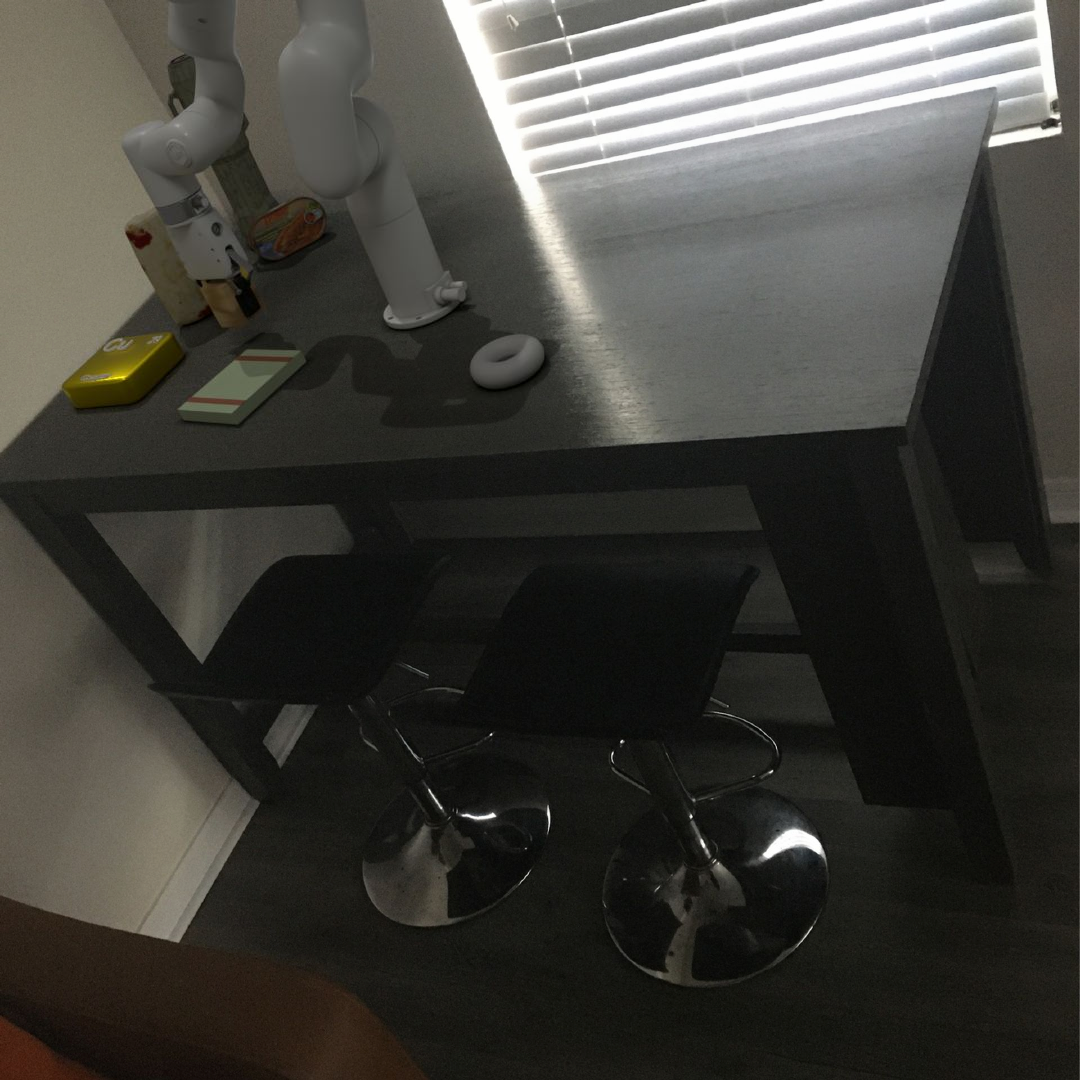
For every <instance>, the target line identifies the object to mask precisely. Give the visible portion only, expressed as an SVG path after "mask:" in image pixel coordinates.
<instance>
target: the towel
mask: <svg viewBox="0 0 1080 1080" xmlns="http://www.w3.org/2000/svg"><path fill="white" fill-rule="evenodd" d="M306 363H307V360H306V357H305V355H304V354H303V352H302V350H299V349H298V350H296V349H293V350H291V349H254V348H253V349H247V348H246V350H244V351H243V352H242V353H241V354H240V355H238V356H237V357H236V358H234V359H233V361H232V362H231V363H229V364H228V365H226V367H224V368H223V369H222V370H221V371H220V372H219V373H218V374H216V375H215V376H214V377H213V378H212V379H210V380H209V381H208V382H207V383H206V384H205V385H204V386H203V387H201V388H200V389H199V390H198V391H197V392H195V393H194V394H193V395H192V396H190V397H189V398H187V400H186V401H185V402H184V403H183V404H181V405H180V407H178V408H177V409H176V410H177V412H178V413H179V415H180V417H181V419H182V420H183V421H186V422H199V423H200V422H201V423H213V424H214V423H215V424H226V425H235V426H236V425H237V426H238V425H239V424H241V423H242V422H243V421H244V420H245V419H246V418H247V417H248V416H250V415H251V414H252V412H254V411H255V410H256V409H257V408H258V407H259V406H260V405H261V404H262V403H264V402H265V401H266V400H267V399H268V398H269V397H270V396H271V395H273V393H275V392H276V391H277V389H279V388H280V387H281V386H282V385H283V384H284V383H285V382H287V380H288V379H290V377H292V376H293V375H294V374H295V373H296V372H297V371H298V370H299V369H301V368H302V366H304V365H305V364H306Z"/></svg>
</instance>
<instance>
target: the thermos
mask: <svg viewBox="0 0 1080 1080" xmlns="http://www.w3.org/2000/svg"><path fill="white" fill-rule="evenodd" d="M166 67H167V68H166V69H167V73H168V78H169V83H170V85H171V87H172V89H173V90H172V91H171V93H168V96H167V106H168V108H169V110H170V112H171V114H172V116H173V119H174V118H175V117H177V116H178V115H179V114H180V113H179V112H178V109H177V108H176V106H175V105H174V99H176V100H178V101H179V103H180V106H181V107H182V109H183V110H185V109H186V108H187V107H189V106H190V105H191V104H193V103H194V98H195V85H196V66H195V61H194V57H191V56H189V55H186V54H184V53H183V54H181V55H179V56H177V57H175V58H173V59H171V60H170V61H169V64H167V66H166ZM249 125H250V122H249V119H248V117H247V116H246V114H245V112H244V113H243V121H242V127H241V130H240V133H239V136H238V138H237V140H236V141H235V142H234V144H233V145H232V146H231V147H229V148H228V149H227V150H226V151H225V152H224V153H223V154H222V155H220V156H219V158H218V159H217V160H216V161H215V162H214V163H212V164H211V165H210V167H211V169H212V170H213V173H214V175H215V177H216V178H217V181H218V183H219V184H220V187H221V189H222V191H223V193H224V194H225V197H226V199H227V201H228V202H229V205H230V207H231V209H232V214H233V217H234V220H235V223H236V225H237V227H238V229H239V231H240V233H241V234H242V237H244V238H245V240H246V242H247V245H248V247H249V248H250V249H253V247H252V246H251V244H250V241H249V228H250V225H251V223H252V222H253V220H254V219H255V218H256V217H258V216H259V215H261V214H263V213H265V212H267V211H269V210H271V209H273V208H275V207H277V206H279V205H280V203H279V201H278V200H277V199H276V198H275V197H274V196H273V194H272V193H271V191H270V189H269V186H268V185H267V182H266V180H265V178H264V176H263V173H262V172H261V169H260V168H259V165H258V164H257V161H256V159H255V157H254V155H253V153H252V151H251V149H250V141H249V138H248V137H247V134H246V131H247V130H248V127H249Z"/></svg>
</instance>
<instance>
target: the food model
mask: <svg viewBox="0 0 1080 1080" xmlns="http://www.w3.org/2000/svg"><path fill="white" fill-rule="evenodd" d="M124 234H125V236H126V238H127V240H128V242H129V244H130V246H131V248H132V251H133V252H134V255H135V258H136V259H137V261H138V263H139V265H140V267H141V268H142V271H143V272H144V274H145V276H146V277H147V279H148V281H149V282H150V283H151V286H152V287H153V289H154V291H155V293H156V295H157V296H158V298H159V300H160V301H161V303H162V304H163V306H164V308H165V309H166V310H167V312H168V313H169V315H170V317H171V319H172V321H173V322H174V324H176V325H177V326H182V325H184V326H185V325H189V324H192V323H194V322H196V321H199V320H201V319H203V318H204V317H207V316H208V315H210V314H212V313H213V311H212V310H211V308H210V306H209V304H208V302H207V301H206V299H205V297H204V295H203V293H202V292H201V290H200V288H201V287H200V286H199V285H198V284H197V283H196V282H195V281H193V280H192V279H190V278H189V277H187V275H186V269H185V267H184V265H183V263H182V262H181V260H180V258H179V256H178V254H177V252H176V250H175V248H174V246H173V243H172V241H171V239H170V236H169V234H168V231H167V229H166V226H165V224H164V222H163V221H162V219H161V217H160V215H159V213H158V212H157V210H156V208H155V206H154V207H152V208H150V209H148V210H146V211H145V212H143V213H141V214H137V215H134V216H133V217H132V218H131V219H130V220H128V221H127V222H126V224H125V225H124Z"/></svg>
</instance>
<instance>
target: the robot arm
mask: <svg viewBox="0 0 1080 1080" xmlns="http://www.w3.org/2000/svg"><path fill="white" fill-rule="evenodd" d="M166 1H168V13H167V15H168V16H167V37H168V40H169V42H170V43H171V44H172V46H173V47H174V48H175V49H177V50H178V51H180V52H181V53H183V55H184V54H186V55H189V56H191V57H194V61H195V66H196V85H195V98H194V103H193V104H191V105H190V106H189V107H187V108H186V109H183V111H181V112H180V113H178V114H179V115H178V116H177V117H175V118H174V117H173V119H171V120H170V121H169V122H166V121H164V120H161V119H155V120H150V121H147V122H144V123H142V124H139V125H138V126H135V127H133V128H132V129H130V130H129V131H127V132H125V134H124V135H123V136H122V138H121V142H120V145H121V148H122V150H123V153H124V154H125V156H126V159H127V160H128V162H129V164H130V166H131V167H132V169H133V170H134V172H135V174H136V176H137V178H138V179H139V182H140V183H141V185H142V186H143V188H144V190H145V192H146V194H147V195H148V197H149V199H150V201H151V203H152V205H153V206H154V207H155V208H156V210H157V212H158V213H159V215H160V217H161V219H162V221H163V222H164V224H165V226H166V229H167V231H168V234H169V236H170V239H171V241H172V243H173V246H174V248H175V250H176V252H177V254H178V256H179V258H180V260H181V262H182V263H183V265H184V267H185V269H186V275H187V277H189V278H190V279H192V280H193V281H195V282H196V283H197V284H198V285H199V286H200V287H201V288H202V287H203V286H204V285H206V284H207V283H208V282H209V281H211V280H213V279H225V280H226V281H227V282H228V284H229V285H230V286H231V288H232V289H233V290H234V292H235V293H236V295H235V298H236V300H237V302H238V304H239V306H240V307H241V309H242V311H243V313H244V315H245V317H251V316H252V315H253V314H254V313H256V312H257V311H258V310H259V309H260V308H261V306H260V304H259V302H258V300H257V298H256V296H255V295H254V293H253V291H252V289H251V287H250V286H251V285H252V284H251V279H252V275H253V273H254V271H255V269H254V267H253V265H251V264H250V262H249V258H248V256H247V254H246V251H245V250H244V248H243V246H242V244H241V243H240V241H239V240H238V238H237V236H236V235H235V233H234V231H233V229H232V228H231V226H230V225H229V223H228V222H227V220H226V219H225V218H224V216H223V215H222V214H221V213H220V211H219V210H218V209H217V208H216V207H215V206H213V205H212V203H211V201H210V200H209V197H208V195H207V193H206V192H205V190H204V188H203V186H202V184H201V182H200V181H199V179H198V176H197V174H200V173H202V172H204V171H206V170H207V169H209V167H211V164H212V163H214V162H215V161H216V160H217V159H218V158H219V156H220V155H222V154H223V153H224V152H225V151H226V150H227V149H228V148H229V147H231V146H232V145H233V144H234V142H235V141H236V140H237V138H238V136H239V133H240V130H241V127H242V124H243V122H242V121H243V113H245V112H244V111H245V103H246V102H245V100H246V77H245V73H244V70H243V65H242V61H241V59H240V56H239V54H238V52H237V50H236V45H235V43H236V41H235V40H236V29H237V28H236V26H237V14H238V13H237V12H238V3H239V2H238V0H166ZM295 2H296V9H297V14H298V22H299V31H298V34H297V35H295V37H293V39H291V40H290V41H289V42H288V43H287V44H286V45H285V47H284V48H283V49H282V52H281V54H280V56H279V59H278V63H277V67H276V69H277V70H276V86H277V92H278V97H279V102H280V107H281V111H282V115H283V121H284V126H285V130H286V135H287V139H288V143H289V148H290V153H291V157H292V160H293V164H294V166H295V169H296V172H297V173H298V176H299V178H300V179H301V181H302V183H303V184H304V185H305V186H306V187H307V188H308V189H309V190H310V191H311V192H312V193H313V194H315V195H317V196H318V197H319V198H322V199H324V200H330V201H331V200H332V201H336V200H337V201H338V200H342V199H344V200H345V204H346V206H347V209H348V213H349V215H350V217H351V219H352V222H353V224H354V227H355V229H356V232H357V233H358V236H359V239H360V240H361V243H362V245H363V247H364V250H365V252H366V254H367V256H368V259H369V261H370V263H371V266H372V268H373V270H374V272H375V275H376V278H377V280H378V282H379V284H380V287H381V289H382V291H383V293H384V296H385V298H386V300H387V302H388V305H387V306H386V307H385V309H384V311H383V319H384V322H385V324H386V325H387V326H388V327H389V328H392V329H394V330H395V329H396V330H409V329H410V330H411V329H415V328H418V327H423V326H425V325H428V324H431V323H433V322H436V321H438V320H440V319H441V318H443V317H445V316H447V315H448V314H450V313H451V312H452V311H453V310H454V309H456V308H457V307H458V306H459V305H460V303H461V302H464V301H465V300H466V297H467V293H466V291H467V289H468V284H467V282H466V281H465V280H461V281H454V278H453V277H452V275H451V271H450V270H444V268H443V266H442V263H441V260H440V258H439V255H438V253H437V250H436V247H435V245H434V242H433V239H432V237H431V234H430V233H429V230H428V227H427V224H426V222H425V219H424V216H423V213H422V212H421V208H420V207H419V204H418V201H417V197H416V195H415V193H414V190H413V187H412V184H411V182H410V179H409V176H408V174H407V171H406V168H405V164H404V160H403V157H402V153H401V148H400V145H399V140H398V139H399V138H398V136H397V132H396V129H395V126H394V123H393V121H392V119H391V117H390V115H389V114H388V112H387V111H386V109H385V108H384V107H383V106H382V105H381V104H380V103H379V102H378V101H376V100H375V99H373V98H372V97H368V96H365V95H362V94H361V95H360V94H357V93H358V92H359V90H360V89H361V88H362V86H364V84H365V83H366V82H367V81H368V80H369V79H370V76H371V74H372V71H373V69H374V61H375V59H374V51H373V50H374V49H373V44H372V38H371V33H370V27H369V19H368V14H367V8H366V2H365V0H295ZM231 269H233V270H234V272H232V270H231ZM236 275H237V276H238V283H236V281H235V280H234V279H233V278H234V277H235V276H236Z"/></svg>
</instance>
